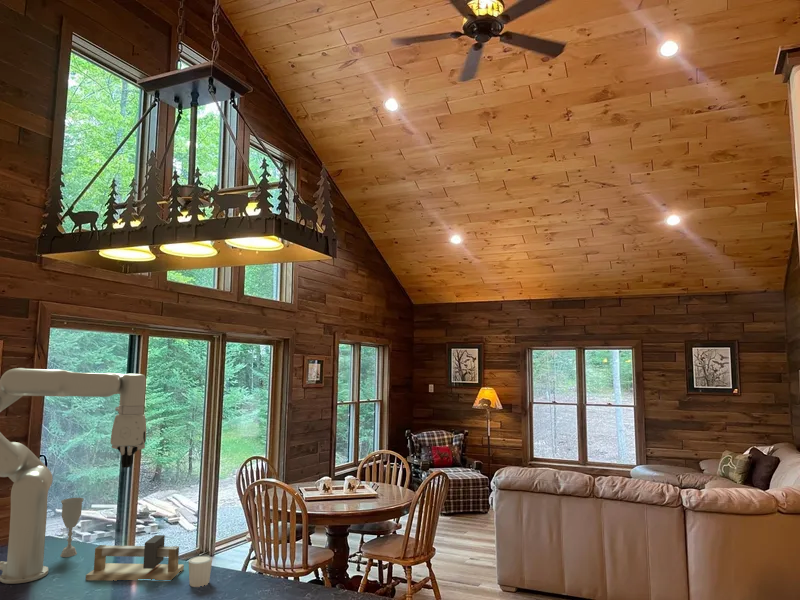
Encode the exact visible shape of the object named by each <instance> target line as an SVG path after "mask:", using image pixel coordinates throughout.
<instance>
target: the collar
mask: <svg viewBox="0 0 800 600" xmlns="http://www.w3.org/2000/svg"><path fill="white" fill-rule="evenodd" d="M165 537H166V536H165V535H160V534H159V535H158V534H156V535H154V536H152V537H150V538H149V539H147V541H145V542H144V546H145V547H144V557H143V564H144V565H143V569H153V568H155V567H156V566H157V565H158V564H161V563H162V562H163V561H164V558H165V557H157V547H159V546H165V539H166V538H165Z"/></svg>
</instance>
